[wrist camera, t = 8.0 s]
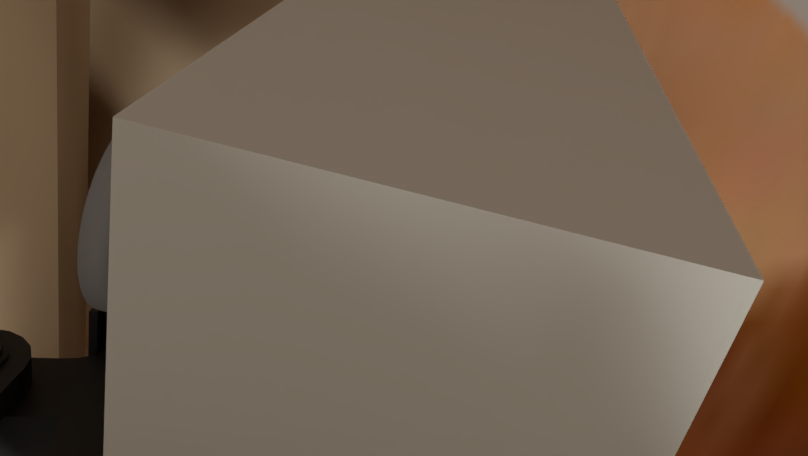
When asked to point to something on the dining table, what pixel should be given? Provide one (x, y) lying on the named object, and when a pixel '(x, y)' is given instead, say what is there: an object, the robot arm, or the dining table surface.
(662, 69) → the dining table surface
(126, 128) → the grey rectangular block
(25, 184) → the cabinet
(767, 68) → the dining table surface
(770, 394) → the dining table surface
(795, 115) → the dining table surface
